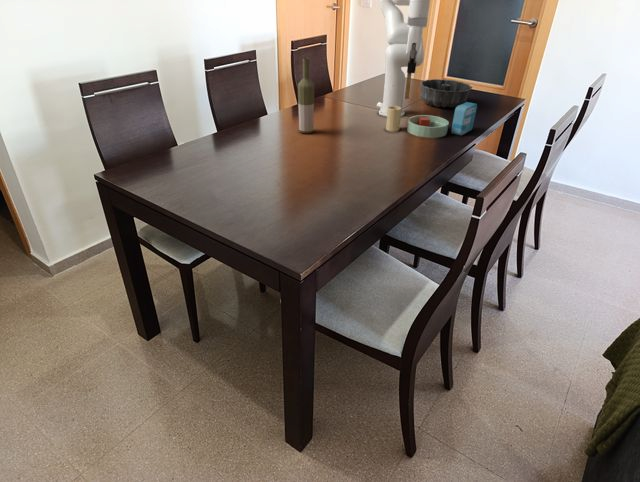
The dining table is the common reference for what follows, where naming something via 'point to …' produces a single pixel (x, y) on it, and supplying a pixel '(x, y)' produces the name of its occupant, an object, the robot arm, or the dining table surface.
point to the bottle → (306, 100)
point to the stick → (408, 85)
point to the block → (424, 121)
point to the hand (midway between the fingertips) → (411, 72)
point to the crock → (393, 118)
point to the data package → (464, 118)
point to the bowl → (430, 132)
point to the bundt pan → (444, 92)
